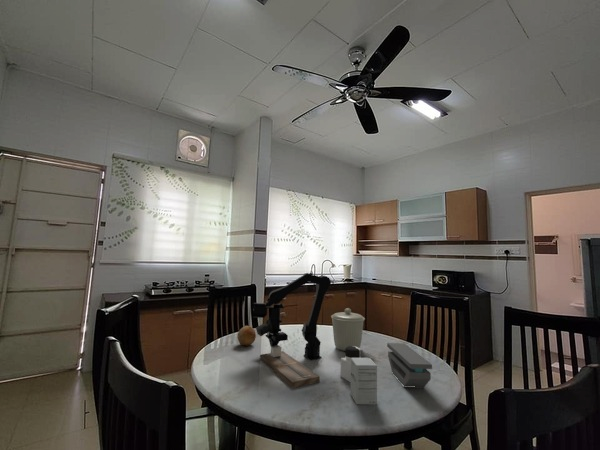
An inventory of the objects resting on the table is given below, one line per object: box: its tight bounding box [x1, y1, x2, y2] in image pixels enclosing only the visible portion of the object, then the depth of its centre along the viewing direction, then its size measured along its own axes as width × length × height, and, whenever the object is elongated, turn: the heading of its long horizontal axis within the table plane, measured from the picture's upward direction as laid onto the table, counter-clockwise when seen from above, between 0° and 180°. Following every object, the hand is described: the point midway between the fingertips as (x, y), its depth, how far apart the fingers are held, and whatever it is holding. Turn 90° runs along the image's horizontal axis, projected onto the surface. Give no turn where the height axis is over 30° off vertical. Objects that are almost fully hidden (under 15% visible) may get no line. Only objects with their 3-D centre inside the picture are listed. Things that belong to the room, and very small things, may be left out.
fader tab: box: [270, 344, 282, 357], centre depth 131 cm, size 4×3×4 cm
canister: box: [330, 307, 366, 352], centre depth 152 cm, size 18×18×21 cm
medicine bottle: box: [340, 346, 361, 383], centre depth 114 cm, size 7×7×12 cm
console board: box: [259, 350, 321, 389], centre depth 120 cm, size 12×32×2 cm, turn 30°
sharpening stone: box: [386, 342, 433, 388], centre depth 114 cm, size 25×8×11 cm, turn 2°
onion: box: [236, 325, 257, 347], centre depth 151 cm, size 10×10×10 cm
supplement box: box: [350, 357, 378, 405], centre depth 98 cm, size 7×7×13 cm
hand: (272, 351), depth 134 cm, fingers closed
